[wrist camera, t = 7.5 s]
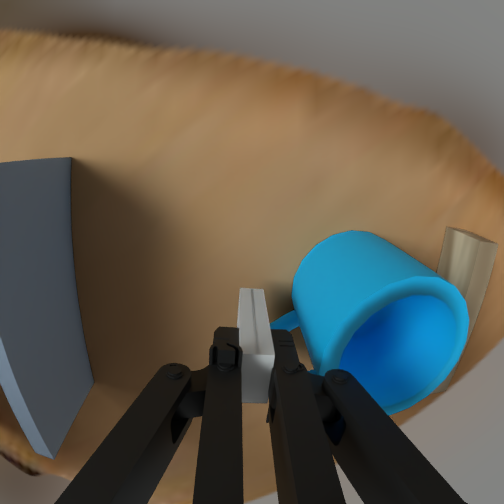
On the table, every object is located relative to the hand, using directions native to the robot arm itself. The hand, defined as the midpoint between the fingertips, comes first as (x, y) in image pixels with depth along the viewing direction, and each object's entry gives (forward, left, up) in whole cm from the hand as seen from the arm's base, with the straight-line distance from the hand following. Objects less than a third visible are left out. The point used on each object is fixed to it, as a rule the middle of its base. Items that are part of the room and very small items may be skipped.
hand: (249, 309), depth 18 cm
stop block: (+15, 0, -2) cm, 15 cm away
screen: (-14, -1, -2) cm, 14 cm away
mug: (+5, 0, -2) cm, 6 cm away
